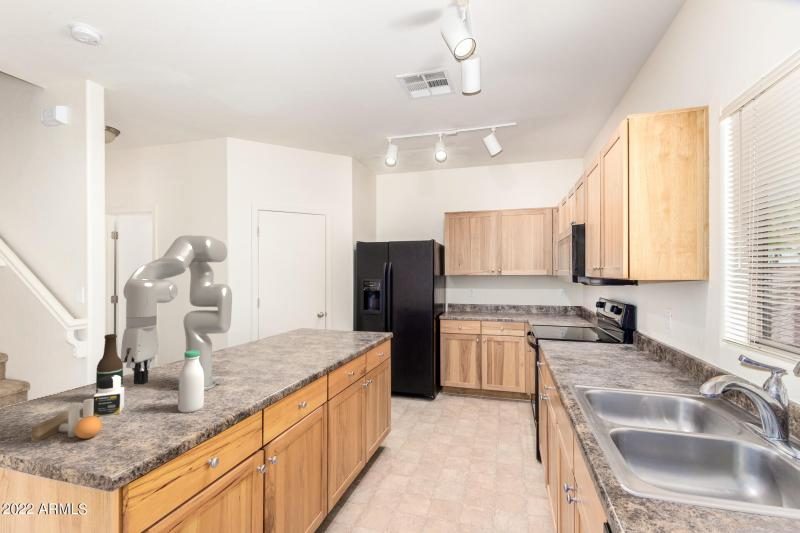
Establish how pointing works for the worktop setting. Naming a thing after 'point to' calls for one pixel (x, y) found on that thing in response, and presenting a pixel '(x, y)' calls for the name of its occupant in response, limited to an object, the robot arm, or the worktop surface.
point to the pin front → (63, 427)
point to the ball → (88, 427)
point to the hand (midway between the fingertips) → (140, 383)
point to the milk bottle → (191, 384)
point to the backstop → (48, 427)
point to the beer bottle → (109, 361)
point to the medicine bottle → (109, 396)
